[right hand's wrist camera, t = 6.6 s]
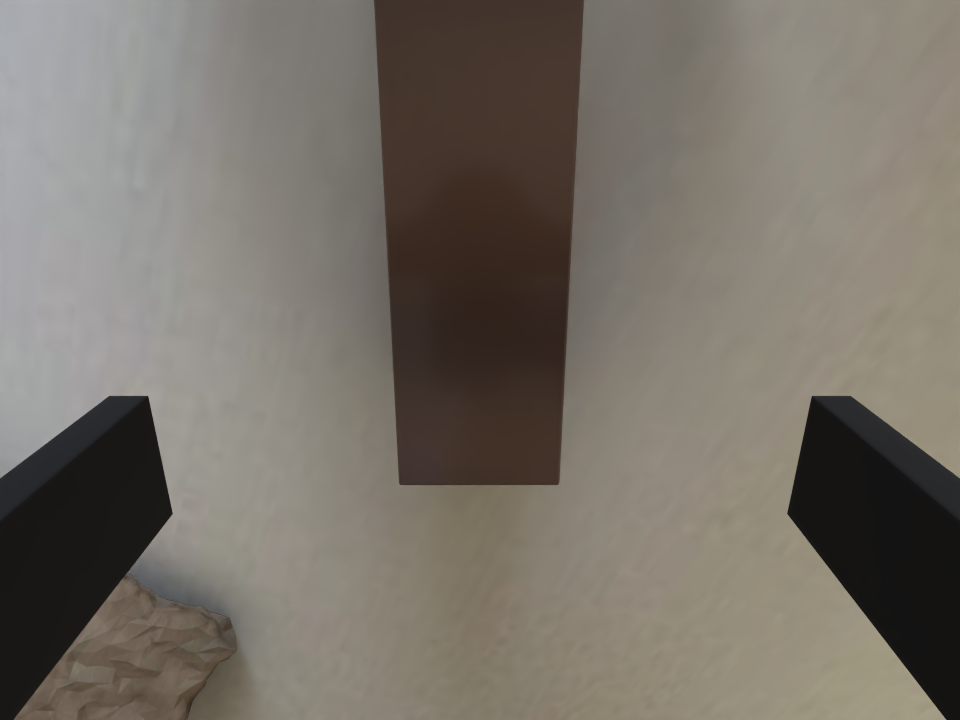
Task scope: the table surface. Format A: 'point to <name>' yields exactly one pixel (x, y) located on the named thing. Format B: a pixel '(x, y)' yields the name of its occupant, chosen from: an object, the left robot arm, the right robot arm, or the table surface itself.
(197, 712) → the table surface
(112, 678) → the stone
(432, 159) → the walnut beam
